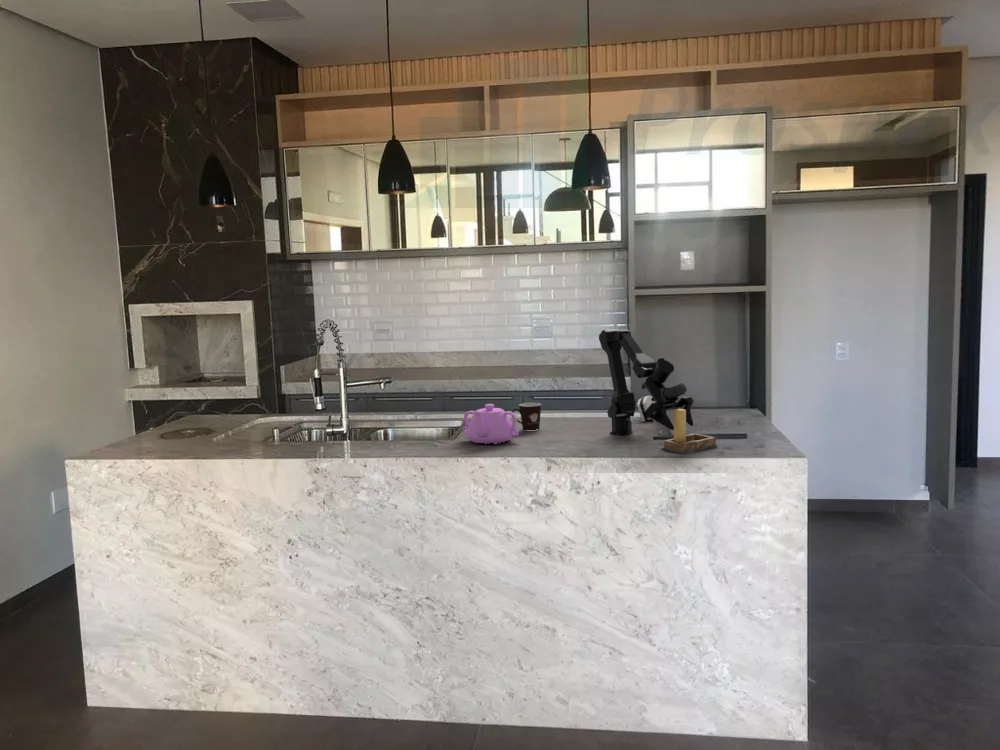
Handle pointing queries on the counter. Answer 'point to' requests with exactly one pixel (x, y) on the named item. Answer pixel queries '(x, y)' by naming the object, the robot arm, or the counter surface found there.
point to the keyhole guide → (690, 443)
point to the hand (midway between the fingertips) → (682, 427)
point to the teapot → (490, 425)
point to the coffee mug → (529, 415)
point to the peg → (680, 425)
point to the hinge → (644, 406)
